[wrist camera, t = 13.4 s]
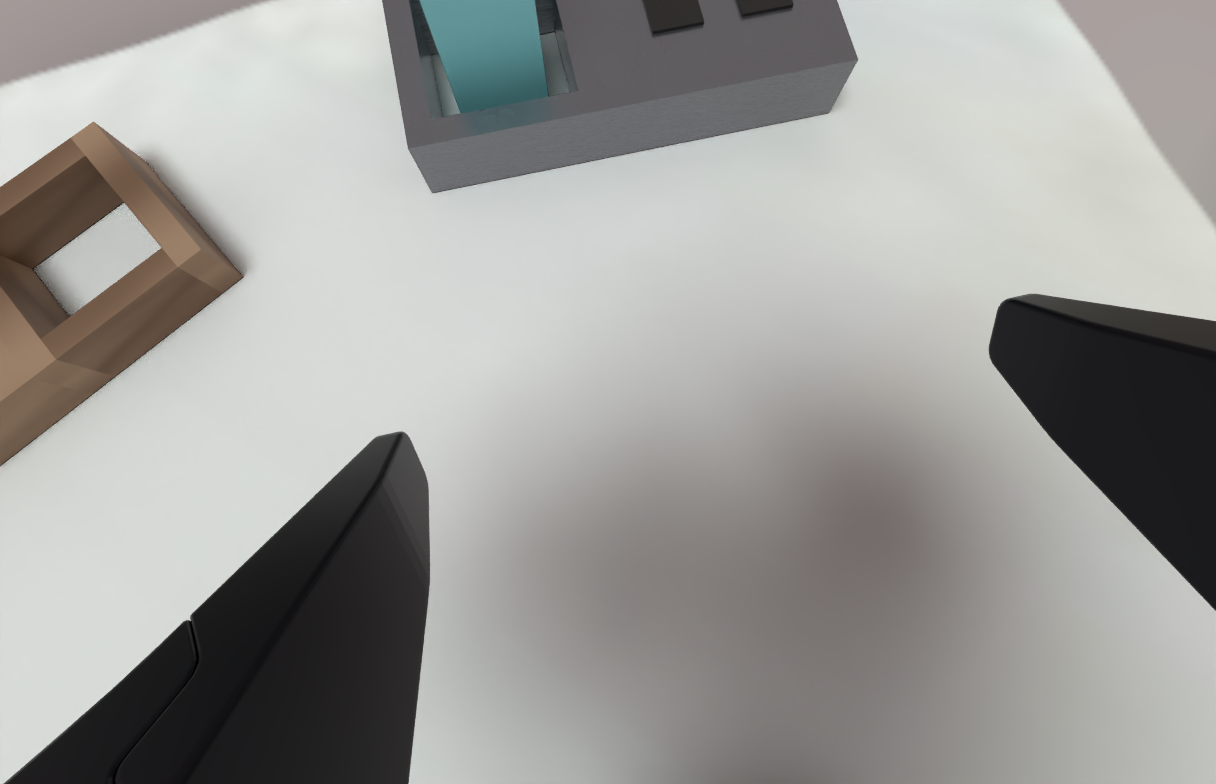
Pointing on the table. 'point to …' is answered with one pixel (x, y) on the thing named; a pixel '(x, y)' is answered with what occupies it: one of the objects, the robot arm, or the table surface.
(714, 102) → the port block
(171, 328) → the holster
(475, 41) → the plug
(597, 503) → the table surface
